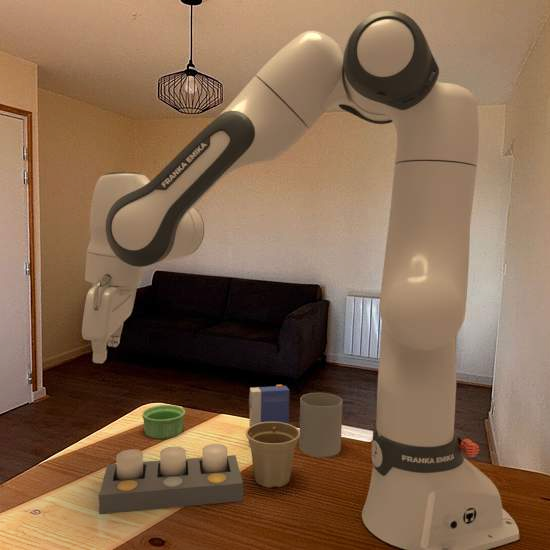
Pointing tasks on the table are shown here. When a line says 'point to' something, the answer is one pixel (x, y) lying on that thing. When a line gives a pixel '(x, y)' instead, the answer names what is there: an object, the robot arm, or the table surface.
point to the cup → (320, 424)
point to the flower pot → (272, 452)
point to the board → (170, 487)
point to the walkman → (269, 404)
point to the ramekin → (163, 421)
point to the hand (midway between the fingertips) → (106, 353)
